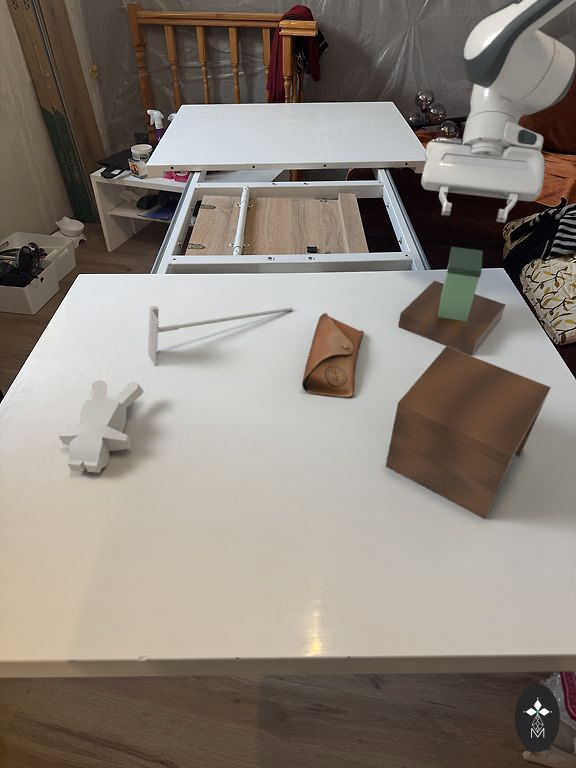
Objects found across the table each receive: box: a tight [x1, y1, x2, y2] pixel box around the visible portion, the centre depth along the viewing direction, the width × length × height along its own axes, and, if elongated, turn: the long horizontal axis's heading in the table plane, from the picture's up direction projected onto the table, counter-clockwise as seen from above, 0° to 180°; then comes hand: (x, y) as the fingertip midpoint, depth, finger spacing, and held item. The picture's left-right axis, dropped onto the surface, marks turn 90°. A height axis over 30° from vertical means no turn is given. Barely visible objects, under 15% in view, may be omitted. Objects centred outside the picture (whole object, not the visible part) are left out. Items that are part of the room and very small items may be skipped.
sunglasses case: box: [301, 312, 365, 398], centre depth 88 cm, size 18×7×7 cm, turn 170°
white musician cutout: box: [58, 380, 144, 473], centre depth 75 cm, size 10×5×15 cm
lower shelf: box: [397, 280, 506, 357], centre depth 96 cm, size 14×14×3 cm
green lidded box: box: [438, 246, 484, 322], centre depth 92 cm, size 7×5×10 cm
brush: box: [147, 305, 293, 366], centre depth 93 cm, size 4×27×9 cm, turn 119°
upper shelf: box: [385, 345, 552, 520], centre depth 69 cm, size 14×14×12 cm
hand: (473, 217), depth 93 cm, fingers open, 8 cm apart
